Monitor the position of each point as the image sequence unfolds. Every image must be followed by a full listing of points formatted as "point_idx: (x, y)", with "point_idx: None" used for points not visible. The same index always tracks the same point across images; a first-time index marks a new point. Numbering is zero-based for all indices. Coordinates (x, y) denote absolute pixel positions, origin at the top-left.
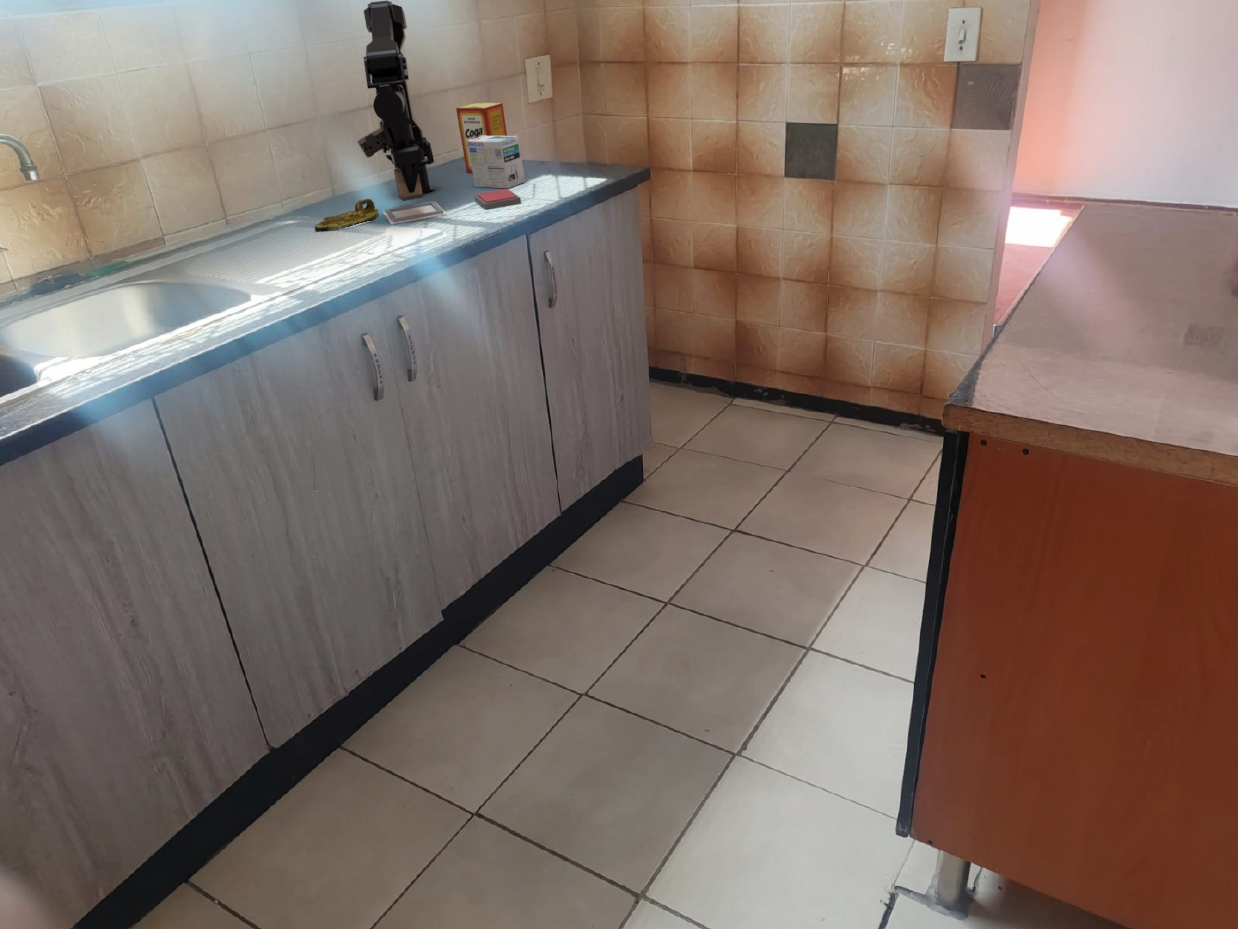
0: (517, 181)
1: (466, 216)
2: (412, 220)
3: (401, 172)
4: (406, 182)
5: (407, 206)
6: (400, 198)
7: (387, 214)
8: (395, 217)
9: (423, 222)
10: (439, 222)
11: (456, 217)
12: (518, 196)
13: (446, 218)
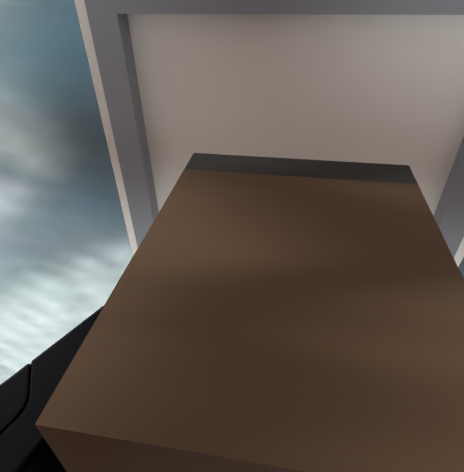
0: None
1: (65, 322)
2: (104, 122)
3: (19, 452)
4: (78, 329)
5: (456, 180)
6: (312, 161)
7: None
8: (151, 13)
9: (36, 166)
10: (5, 225)
11: (67, 296)
12: None
13: (69, 266)
